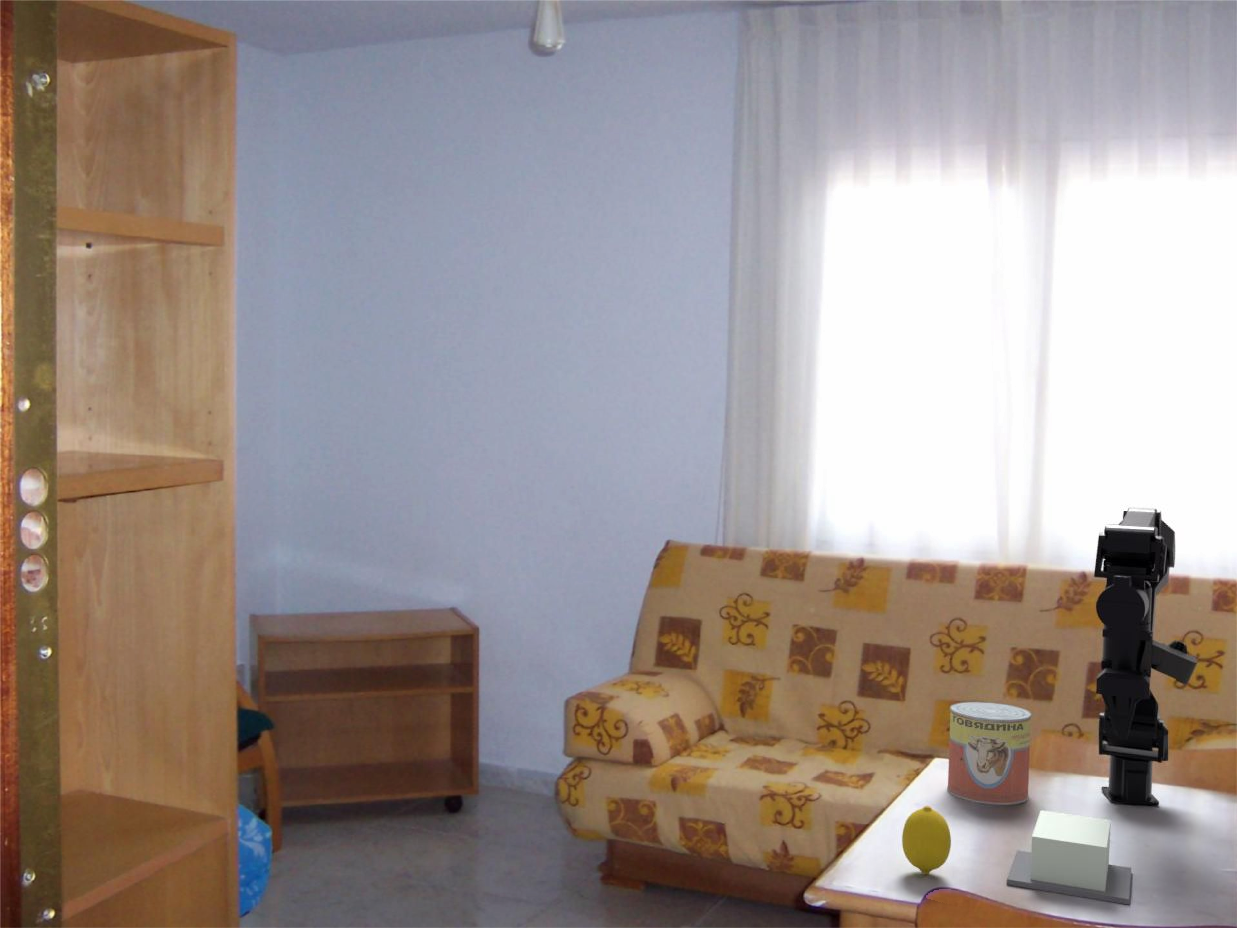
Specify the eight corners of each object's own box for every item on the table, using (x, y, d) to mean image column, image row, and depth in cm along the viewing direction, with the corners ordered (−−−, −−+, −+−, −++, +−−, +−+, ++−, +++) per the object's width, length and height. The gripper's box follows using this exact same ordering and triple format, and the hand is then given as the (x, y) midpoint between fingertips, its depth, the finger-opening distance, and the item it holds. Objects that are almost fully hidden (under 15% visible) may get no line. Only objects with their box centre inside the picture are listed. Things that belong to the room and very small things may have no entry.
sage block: (1040, 810, 153) (1031, 836, 143) (1110, 819, 150) (1106, 847, 140) (1039, 850, 153) (1030, 879, 143) (1109, 860, 150) (1104, 891, 140)
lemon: (941, 886, 142) (943, 816, 141) (894, 875, 145) (896, 807, 144) (955, 872, 146) (958, 804, 146) (910, 862, 149) (912, 796, 149)
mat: (1017, 854, 153) (1017, 850, 153) (1131, 872, 148) (1131, 867, 148) (1006, 884, 143) (1006, 878, 143) (1128, 904, 138) (1129, 898, 138)
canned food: (945, 799, 176) (948, 715, 175) (948, 778, 186) (951, 698, 186) (1029, 808, 172) (1032, 722, 172) (1027, 786, 183) (1030, 705, 183)
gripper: (1196, 636, 152) (1191, 763, 152) (1193, 617, 169) (1188, 731, 169) (1098, 628, 156) (1093, 752, 156) (1105, 610, 173) (1100, 721, 174)
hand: (1122, 738), depth 164 cm, fingers closed
